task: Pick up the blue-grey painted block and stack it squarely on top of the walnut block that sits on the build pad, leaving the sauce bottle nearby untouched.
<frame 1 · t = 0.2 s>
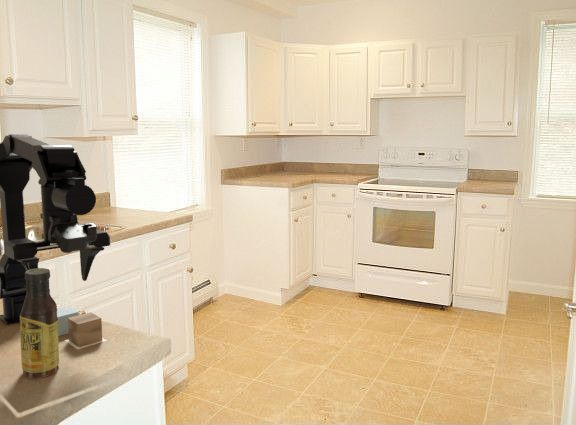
hand: (62, 285, 102), 14 cm above the counter, tool pointing down, fingers open, 9 cm apart
build pad: (85, 342, 107), on the counter
walnut block: (85, 340, 107), point 1 cm above the counter, touching build pad
sauce bottle: (42, 375, 93), on the counter
bluegrey block: (63, 333, 113), on the counter
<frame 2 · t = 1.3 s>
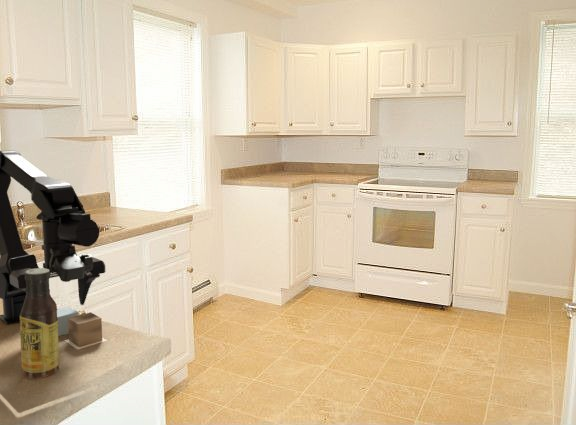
hand: (61, 309, 112), 5 cm above the counter, tool pointing down, fingers open, 9 cm apart
nothing on the counter moved.
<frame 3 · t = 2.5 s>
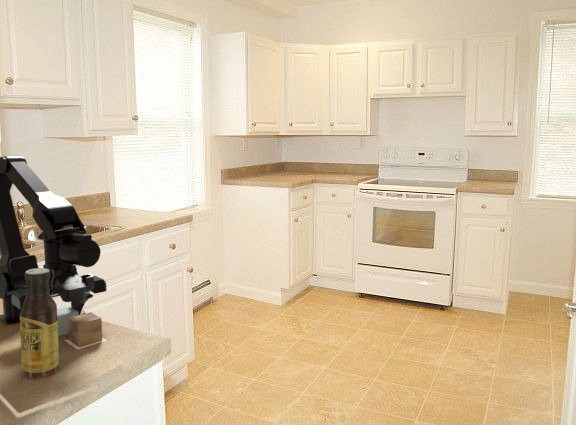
hand: (63, 328, 113), 1 cm above the counter, tool pointing down, fingers closed on bluegrey block, 5 cm apart
bluegrey block: (63, 332, 113), on the counter, touching gripper
everything else where it was.
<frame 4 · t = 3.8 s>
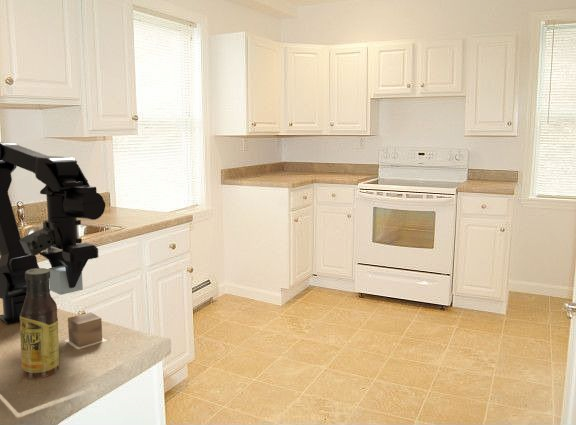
hand: (66, 285, 111), 11 cm above the counter, tool pointing down, fingers closed on bluegrey block, 5 cm apart
bluegrey block: (66, 289, 111), point 10 cm above the counter, touching gripper
everything else where it was.
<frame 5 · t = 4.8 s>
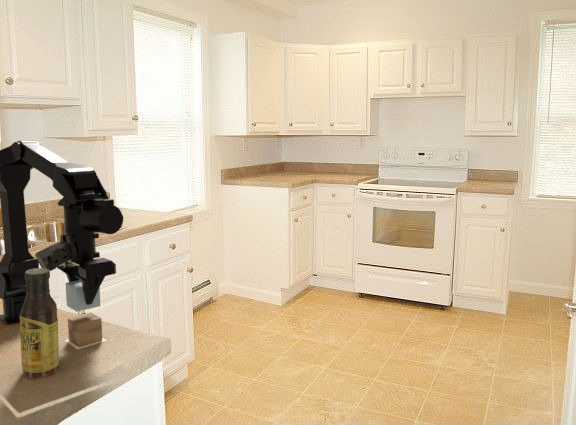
hand: (83, 301, 106), 9 cm above the counter, tool pointing down, fingers closed on bluegrey block, 5 cm apart
bluegrey block: (83, 305, 106), point 8 cm above the counter, touching gripper
everything else where it was.
when the fingers open (8 cm above the counter, at t = 5.5 s): bluegrey block drops 1 cm, resting on walnut block.
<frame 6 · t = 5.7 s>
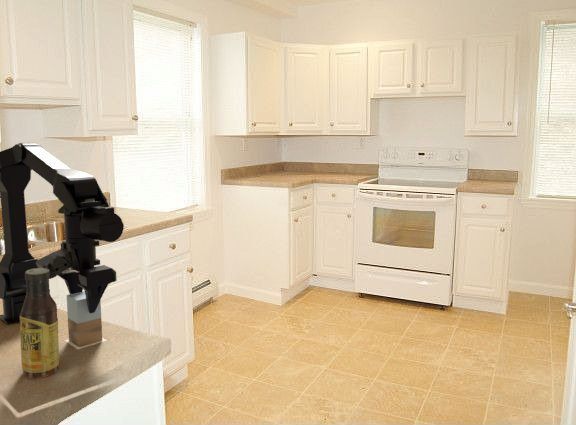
hand: (84, 308, 106), 8 cm above the counter, tool pointing down, fingers open, 7 cm apart
walnut block: (85, 340, 107), point 1 cm above the counter, touching bluegrey block, build pad
bluegrey block: (84, 317, 107), point 6 cm above the counter, touching walnut block
everything else where it was.
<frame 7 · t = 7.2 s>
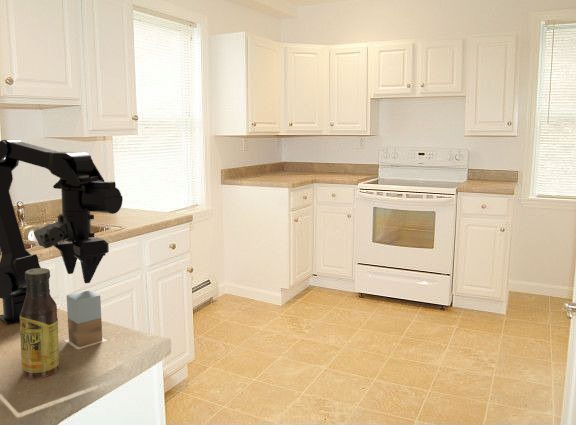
hand: (78, 278, 113), 12 cm above the counter, tool pointing down, fingers open, 9 cm apart
nothing on the counter moved.
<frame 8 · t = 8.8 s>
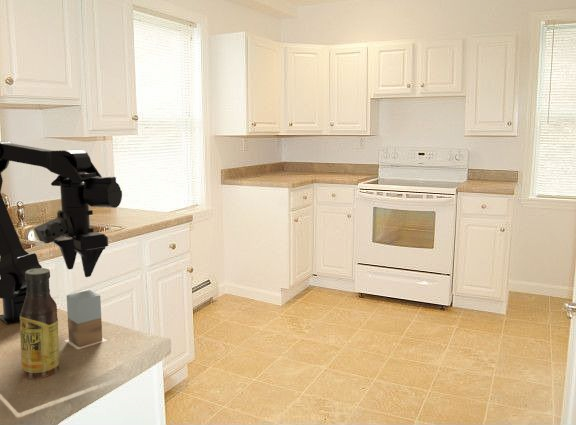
hand: (78, 272, 116), 13 cm above the counter, tool pointing down, fingers open, 9 cm apart
nothing on the counter moved.
at the end: bluegrey block 0.1 cm off-centre on the walnut block, point 5.0 cm above the walnut block's base; bluegrey block touching walnut block; walnut block moved 0.0 cm from its start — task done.
